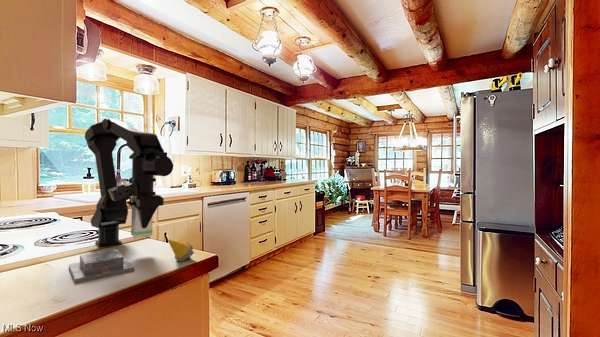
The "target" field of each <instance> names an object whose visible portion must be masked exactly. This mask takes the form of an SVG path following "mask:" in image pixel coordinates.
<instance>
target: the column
mask: <svg viewBox="0 0 600 337" xmlns="http://www.w3.org/2000/svg"><path fill="white" fill-rule="evenodd" d="M136 205H137V204H136ZM134 206H135V205H132V207H131V221H130V222H131V225H130V226H131V228H130V229H131V230H130V232H131V234H130V235H131V236H133V238H135V239H137V238H144V237H152V236H153V222H154V221H153V220H154V219H153V216H154V215H153V216H152V218H151V220H150V222H149V224H148V226H147V228H142V225H141V218H140V212H139V210H138V209H137V208H136V207H134Z"/></svg>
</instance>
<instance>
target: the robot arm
mask: <svg viewBox="0 0 600 337" xmlns="http://www.w3.org/2000/svg"><path fill="white" fill-rule="evenodd" d="M84 132H85V133H84V139H85V141H86V144H87V147H88V150H90V151H91V152H92V153H93V154H94V156H95V164H96V170H97V171H96V172H97V178H98V183H99V193H100V198H99V200H98V201H97V203H96V206H95V208H96V210H95V212H94V213H93V215H92V217H91V218H90V224H91V227H94V228H97V229H98V230H97V231H98V234H97V236H98V237H97V240H95V242H96V243H97V244H96V243H95V242H94V243H95V244H96V245H98V246H97V247H99V248H100V247H107V246H113V245H121V244H122V243H123V242H122V241H121V240H120V238H119V237H120V235H119V234H120V225H124V224H126V223H127V219H128V214H129V207H128V205H129V206H131V208H132V205H135V206H134V207H136V208H137V209H138V210H139V212H140V218H141V225H142V228H147V226H148V224H149V222H150V220H151V218H152V216H154V214H155V213H156V211H157V209H158V208H159V207H160V206H164V201H165V200H164V198H163V196H161V195H159V194H156V191H154V184H155V182H157V178H156V177H154V176H157V177H168V176H169V175H170V174H172V172H173V170H174V164H173V161H172V159H171V158H170V157H169V156H168V152H167V151H165V150H164V148H163V147H162V144H161V142H160V140H159V138H158V135H157V134H156V133H153V132H147V131H141V130H138V129H136V128H134V127H132V126H130V125H129V124H126V123H125V122H123V121H122V120H121V119H115V118H110V117H107V118H104V119H102V121H100V122H98V123H95V124H92V125H90V127H89V128H88V129H87V130H86V131H84ZM119 139H122V140H123V141H125V142H126V143H125V144H126V146H127V147H128V148H129V150H131V152H133V153H132V154H130V155H129V156H128V158H129V160H130V159H131V160H132V161H131V165H132V166H131V167H132V168H131V177H129V178H128V182H127V183H124V184H123V183H121V184H120V185H118V183H117V176H116V169H115V164H114V162H115V161H114V157H113V152H114V150H115V148H116V146H117V141H119ZM128 200H129V201H128ZM127 204H128V205H127ZM136 204H137V205H136Z"/></svg>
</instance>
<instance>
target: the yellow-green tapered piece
mask: <svg viewBox="0 0 600 337" xmlns="http://www.w3.org/2000/svg"><path fill="white" fill-rule="evenodd" d="M167 242H168V243H169V245H170V248H171V250H172V252H173V254H174V259H175V260H176V261H177V262H180V261H181V262H184V261H186V260H187V259H190V258H189V257H192V255H194V254H195V252H194V251H193V250H194V248H193V245H192V244H191V243H188V242H186V243H183V242H179V241H176V240H172V239H167Z"/></svg>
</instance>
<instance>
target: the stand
mask: <svg viewBox="0 0 600 337" xmlns="http://www.w3.org/2000/svg"><path fill="white" fill-rule="evenodd" d="M68 269H69V272H70V273H71V276H72V279H73V282H74V284H79V283H83V282H87V281H92V280H98V279H102V278H107V277H111V276H117V275H121V274H126V273H131V272H135V266H134V265H133V264H132V263H131V261H129V260H128V259H127V257H125V256H124V255H123V254H121V252H119V250H118V249H116V248H115V249H109V250H103V251H97V252H90V253H84V254H80V255H79V262H75V263H69V264H68Z"/></svg>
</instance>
